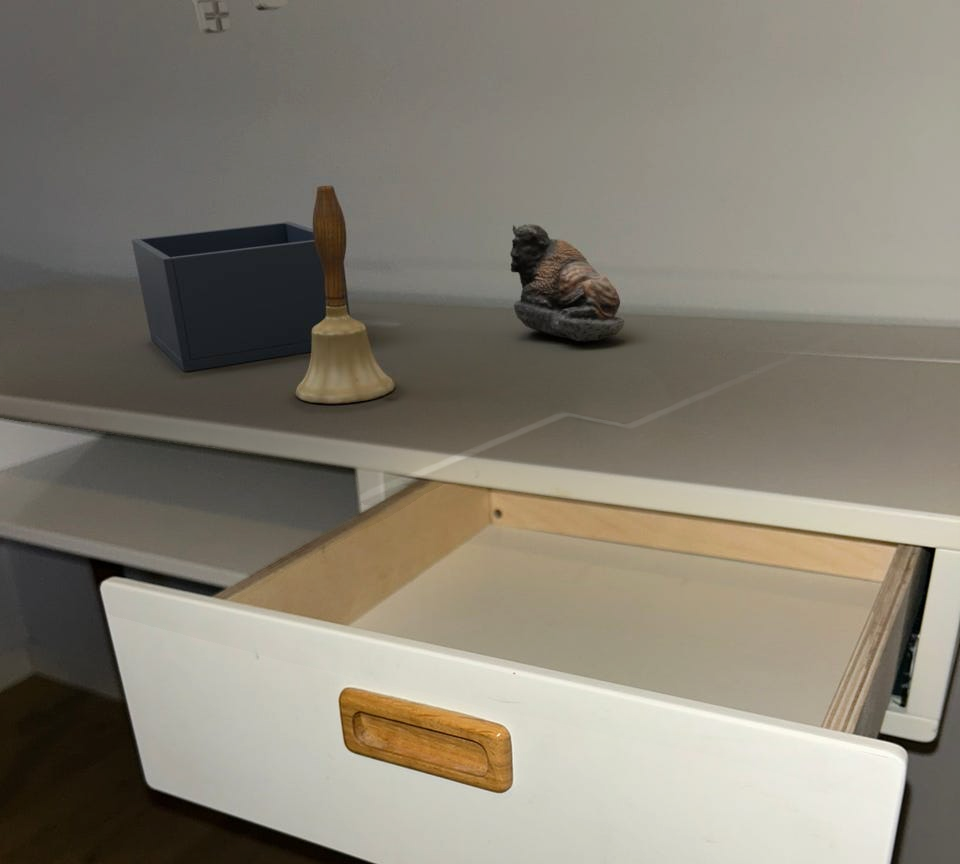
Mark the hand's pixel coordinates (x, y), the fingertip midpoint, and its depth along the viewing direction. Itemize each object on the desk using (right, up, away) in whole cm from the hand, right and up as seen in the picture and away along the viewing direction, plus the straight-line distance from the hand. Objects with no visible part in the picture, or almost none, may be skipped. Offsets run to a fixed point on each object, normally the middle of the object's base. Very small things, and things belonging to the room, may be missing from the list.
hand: (242, 21), depth 70 cm
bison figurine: (+24, -12, +32) cm, 42 cm away
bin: (-8, -11, +38) cm, 40 cm away
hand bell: (+4, -20, +20) cm, 28 cm away
